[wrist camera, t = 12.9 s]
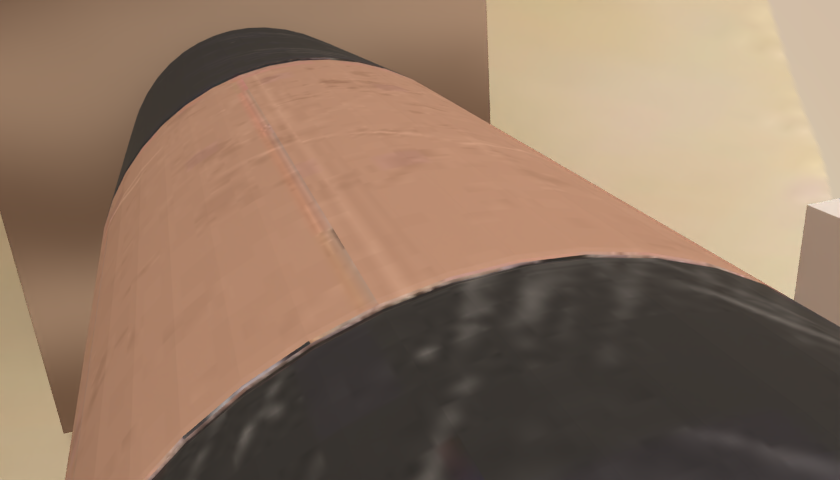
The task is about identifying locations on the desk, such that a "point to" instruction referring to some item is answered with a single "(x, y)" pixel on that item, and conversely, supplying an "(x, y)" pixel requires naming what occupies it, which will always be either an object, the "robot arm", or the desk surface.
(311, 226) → the travel mug
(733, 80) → the desk surface
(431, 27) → the walnut stand
